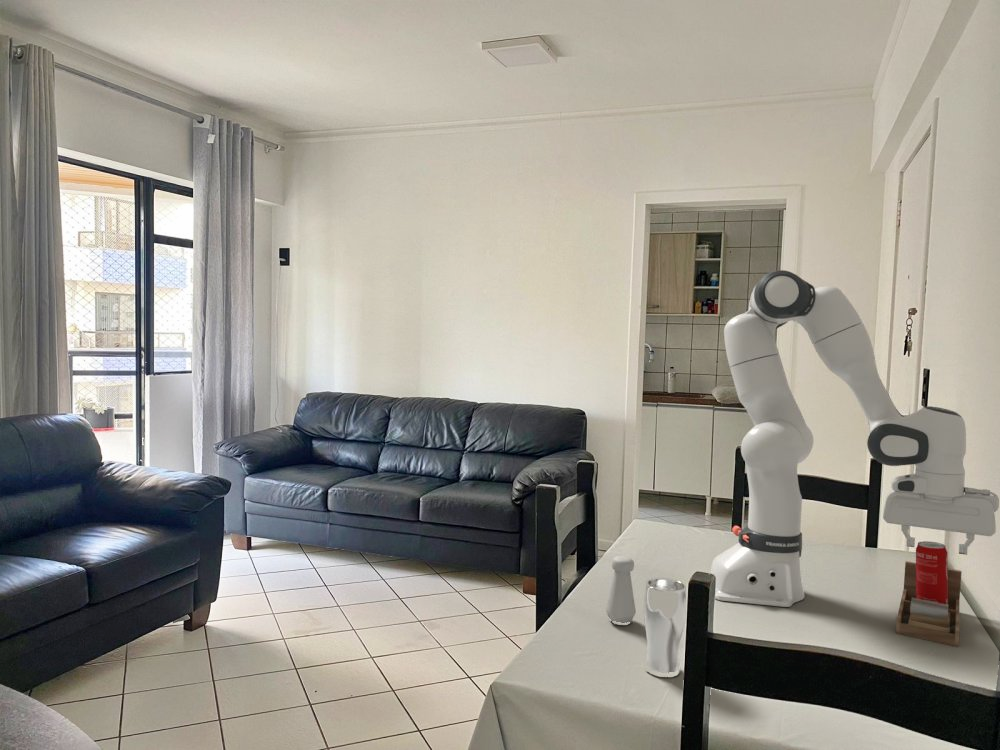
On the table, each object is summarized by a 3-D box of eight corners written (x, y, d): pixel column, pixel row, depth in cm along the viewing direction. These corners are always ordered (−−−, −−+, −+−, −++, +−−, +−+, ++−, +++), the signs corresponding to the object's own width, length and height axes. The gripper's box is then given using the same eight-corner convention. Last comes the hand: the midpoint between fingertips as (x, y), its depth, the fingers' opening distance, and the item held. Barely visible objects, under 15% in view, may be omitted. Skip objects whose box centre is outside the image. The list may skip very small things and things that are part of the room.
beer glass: (676, 660, 127) (680, 577, 126) (688, 680, 120) (692, 592, 119) (637, 660, 127) (641, 576, 126) (646, 679, 120) (650, 591, 119)
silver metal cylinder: (948, 636, 142) (950, 613, 142) (908, 628, 146) (909, 604, 145) (949, 628, 146) (950, 605, 146) (909, 620, 150) (911, 597, 149)
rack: (958, 646, 137) (961, 600, 136) (895, 632, 142) (898, 588, 142) (958, 612, 155) (961, 570, 154) (903, 601, 160) (905, 561, 160)
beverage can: (952, 620, 150) (957, 549, 149) (917, 617, 151) (922, 546, 150) (940, 610, 155) (945, 541, 154) (907, 606, 157) (912, 538, 156)
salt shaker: (612, 629, 140) (615, 563, 139) (600, 617, 146) (603, 554, 145) (640, 626, 142) (643, 561, 141) (627, 615, 147) (630, 552, 146)
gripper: (998, 488, 148) (995, 554, 149) (886, 477, 159) (883, 538, 160) (1000, 493, 143) (996, 562, 144) (883, 481, 154) (881, 545, 155)
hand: (936, 550), depth 152 cm, fingers open, 8 cm apart
